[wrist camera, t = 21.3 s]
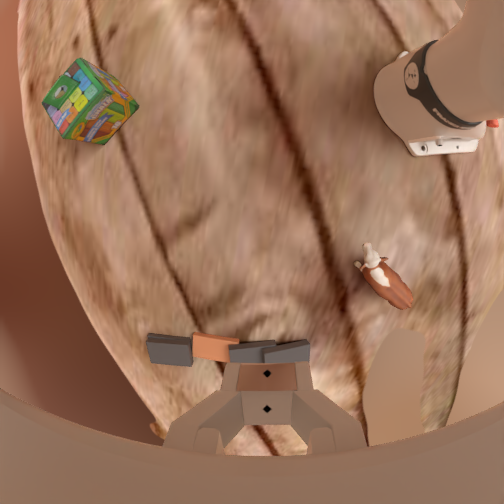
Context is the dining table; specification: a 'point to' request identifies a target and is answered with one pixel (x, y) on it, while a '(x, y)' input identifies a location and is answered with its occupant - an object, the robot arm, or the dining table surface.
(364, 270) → the bull figurine
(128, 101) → the chalk box
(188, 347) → the domino
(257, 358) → the domino
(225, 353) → the domino
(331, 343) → the dining table surface
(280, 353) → the domino
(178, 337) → the domino
